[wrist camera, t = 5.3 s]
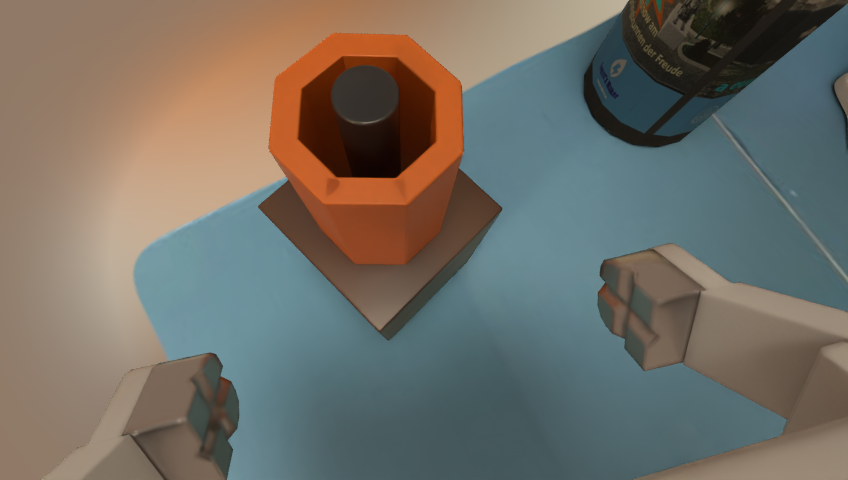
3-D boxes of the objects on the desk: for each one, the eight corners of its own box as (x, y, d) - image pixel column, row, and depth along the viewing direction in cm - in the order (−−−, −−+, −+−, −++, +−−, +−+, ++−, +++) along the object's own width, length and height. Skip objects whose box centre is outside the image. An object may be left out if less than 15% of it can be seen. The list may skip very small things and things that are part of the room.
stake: (390, 188, 33) (370, -77, 13) (467, 261, 32) (578, 97, 12) (311, 261, 31) (141, 88, 11) (388, 341, 30) (357, 313, 10)
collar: (383, 132, 21) (371, 2, 13) (464, 207, 20) (502, 116, 12) (297, 206, 20) (230, 111, 12) (380, 289, 19) (364, 245, 11)
